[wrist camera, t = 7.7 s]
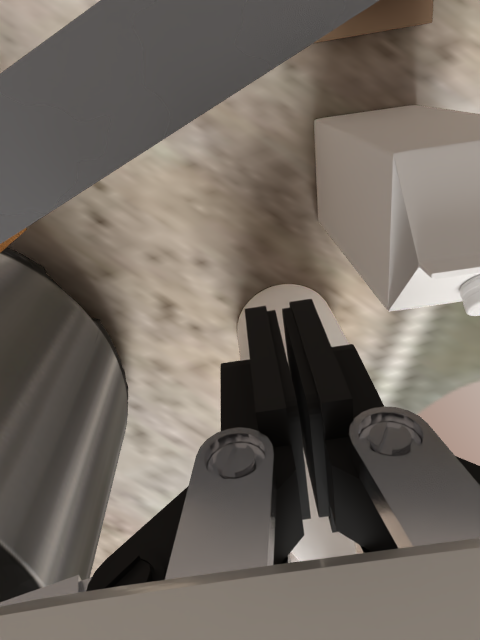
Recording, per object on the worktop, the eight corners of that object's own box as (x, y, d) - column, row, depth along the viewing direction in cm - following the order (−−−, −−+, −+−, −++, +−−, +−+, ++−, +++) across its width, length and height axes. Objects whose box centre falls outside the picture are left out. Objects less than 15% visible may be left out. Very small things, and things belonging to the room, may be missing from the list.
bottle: (339, 352, 40) (600, 891, 14) (250, 376, 41) (336, 938, 14) (323, 270, 36) (640, 796, 10) (224, 298, 37) (277, 866, 10)
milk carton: (312, 118, 31) (440, 172, 14) (416, 103, 31) (666, 139, 14) (317, 221, 34) (424, 361, 18) (411, 207, 34) (607, 335, 18)
